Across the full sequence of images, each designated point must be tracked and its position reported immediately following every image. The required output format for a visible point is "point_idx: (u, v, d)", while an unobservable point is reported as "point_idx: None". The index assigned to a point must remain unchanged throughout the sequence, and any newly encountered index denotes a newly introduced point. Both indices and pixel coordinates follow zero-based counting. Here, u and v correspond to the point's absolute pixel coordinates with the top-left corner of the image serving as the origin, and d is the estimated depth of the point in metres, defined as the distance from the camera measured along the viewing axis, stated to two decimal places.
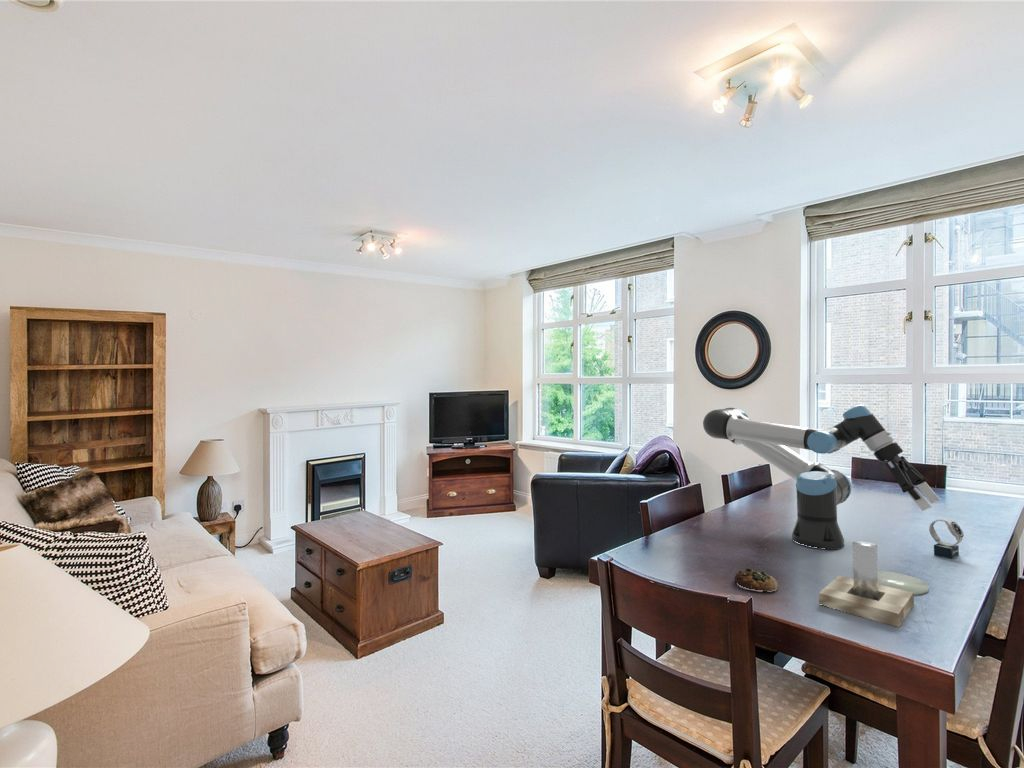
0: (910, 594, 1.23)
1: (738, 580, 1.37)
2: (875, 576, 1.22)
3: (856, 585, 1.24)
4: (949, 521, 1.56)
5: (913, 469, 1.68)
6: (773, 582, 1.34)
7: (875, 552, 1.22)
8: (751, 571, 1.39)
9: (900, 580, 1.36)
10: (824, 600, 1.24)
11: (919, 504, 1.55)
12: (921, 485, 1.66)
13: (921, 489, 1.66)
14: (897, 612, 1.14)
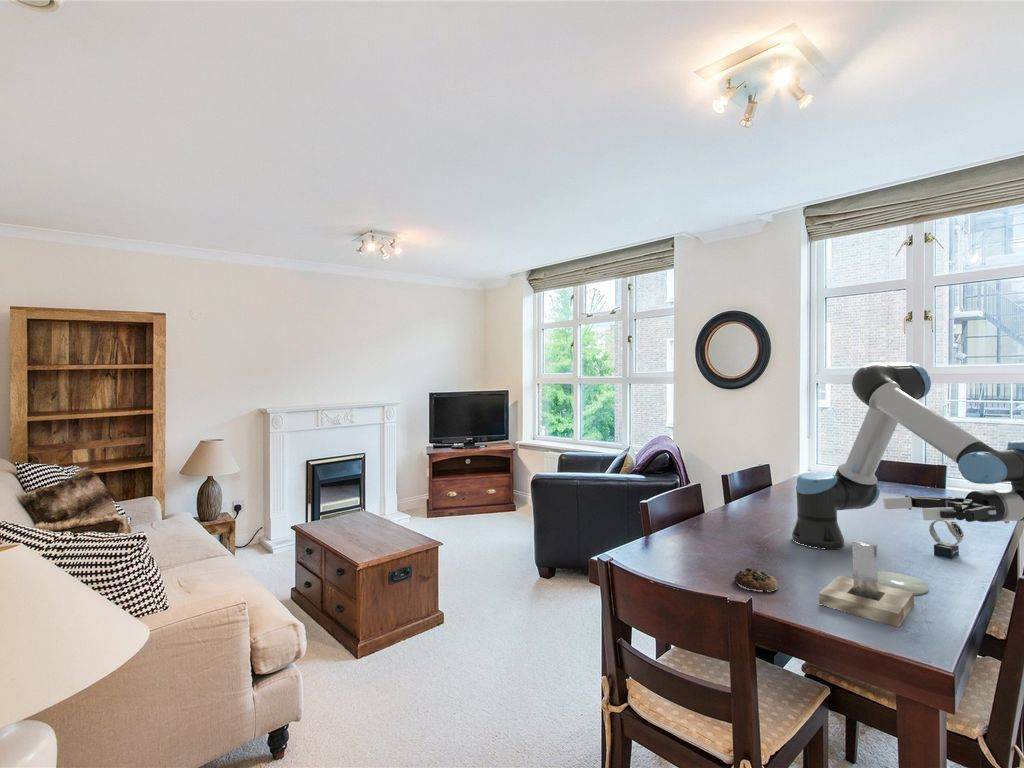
0: (910, 594, 1.23)
1: (738, 580, 1.38)
2: (875, 576, 1.22)
3: (856, 585, 1.24)
4: (949, 521, 1.56)
5: None
6: (773, 582, 1.35)
7: (875, 552, 1.22)
8: (751, 571, 1.39)
9: (900, 580, 1.36)
10: (824, 600, 1.24)
11: (933, 510, 1.18)
12: (909, 502, 1.31)
13: (904, 499, 1.31)
14: (897, 612, 1.14)
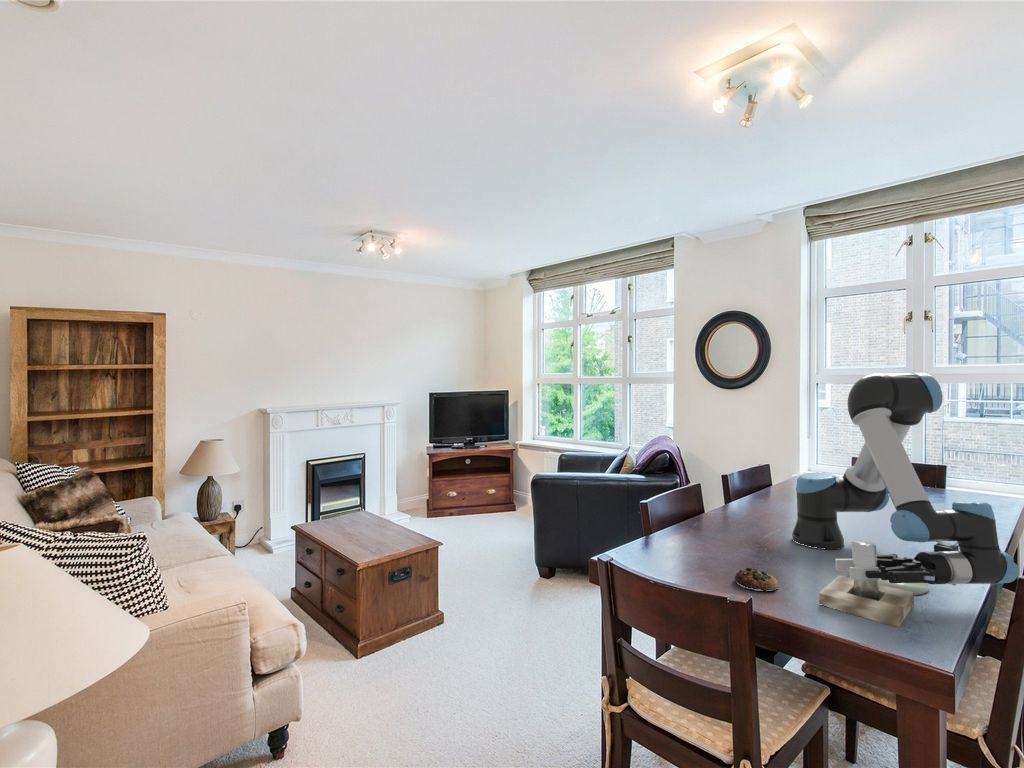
0: (910, 594, 1.23)
1: (739, 580, 1.38)
2: None
3: (856, 585, 1.24)
4: None
5: None
6: (773, 581, 1.35)
7: (874, 551, 1.22)
8: (751, 570, 1.40)
9: None
10: (824, 600, 1.24)
11: (859, 570, 1.21)
12: None
13: None
14: (897, 612, 1.14)
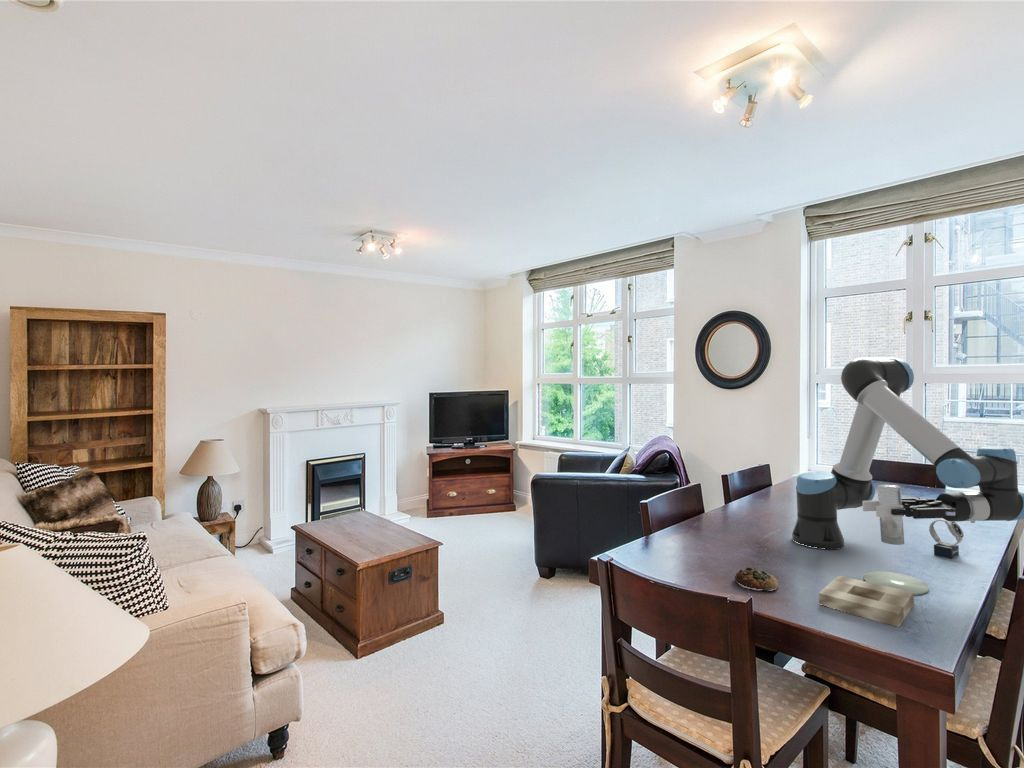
0: (910, 594, 1.23)
1: (739, 579, 1.38)
2: None
3: (882, 523, 1.36)
4: (949, 521, 1.56)
5: None
6: (773, 581, 1.35)
7: (899, 492, 1.34)
8: (751, 570, 1.40)
9: (900, 580, 1.36)
10: (824, 600, 1.24)
11: (885, 508, 1.33)
12: None
13: None
14: (897, 612, 1.14)
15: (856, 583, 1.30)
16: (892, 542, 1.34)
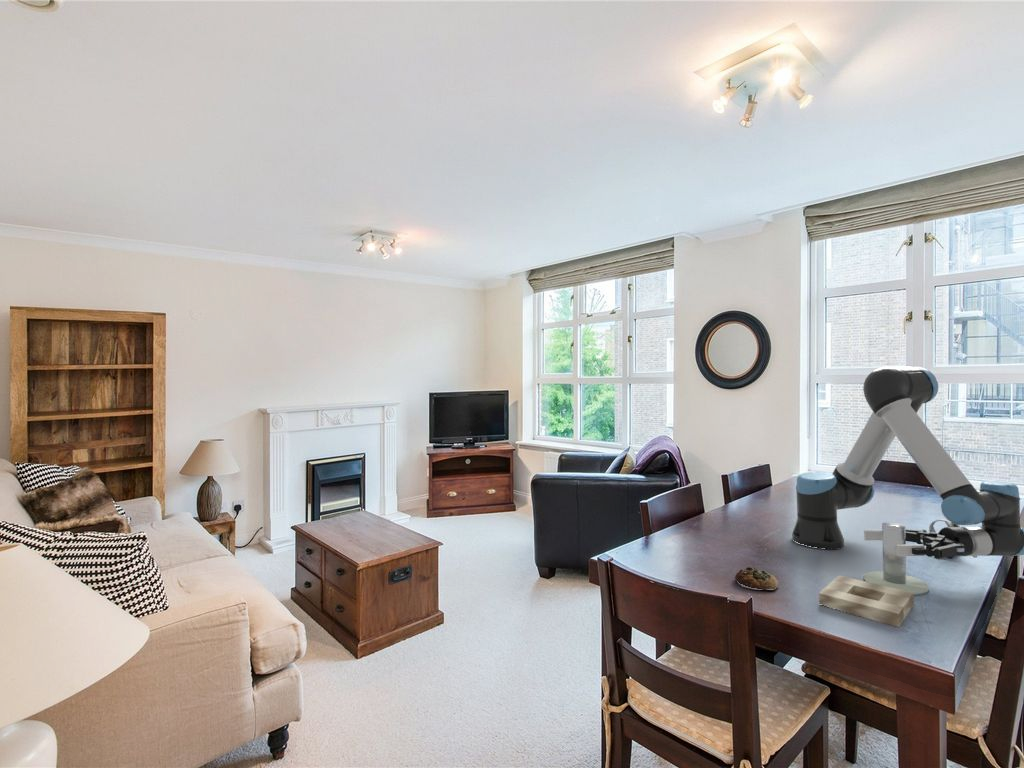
0: (910, 594, 1.23)
1: (739, 579, 1.38)
2: None
3: (885, 562, 1.36)
4: (949, 521, 1.56)
5: None
6: (773, 581, 1.35)
7: (904, 532, 1.34)
8: (752, 570, 1.40)
9: None
10: (824, 600, 1.24)
11: (905, 547, 1.30)
12: None
13: None
14: (897, 612, 1.14)
15: (856, 583, 1.30)
16: (894, 581, 1.35)
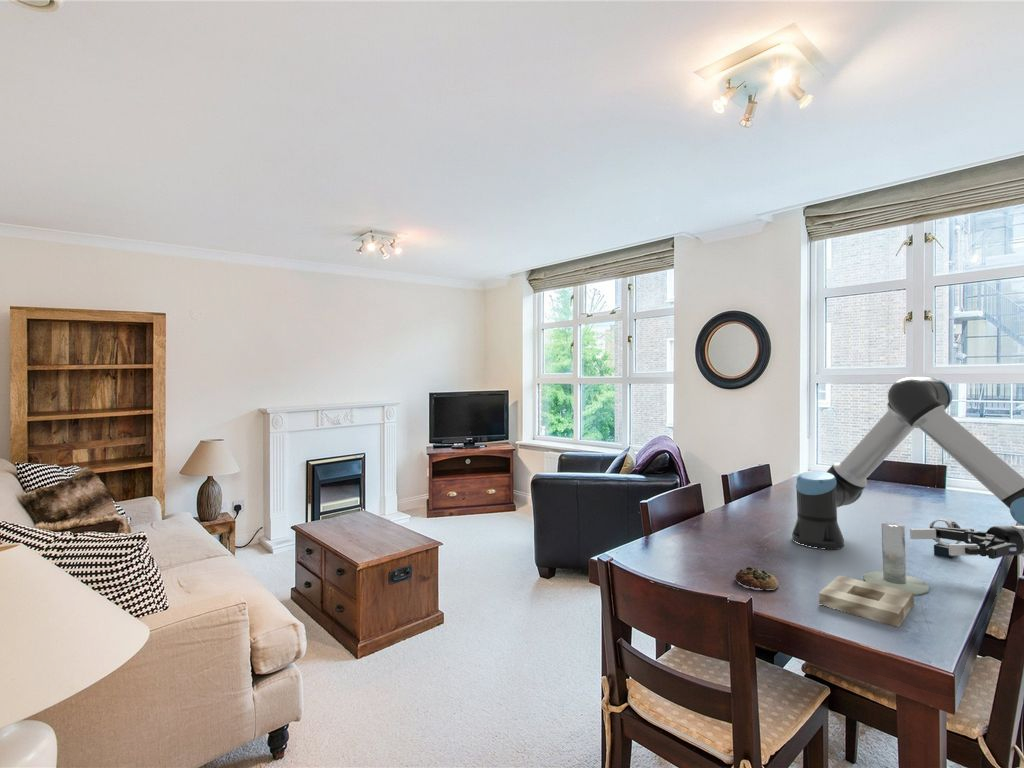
0: (910, 594, 1.23)
1: (739, 579, 1.39)
2: (903, 553, 1.34)
3: (885, 562, 1.36)
4: (949, 521, 1.56)
5: None
6: (774, 581, 1.35)
7: (903, 532, 1.34)
8: (752, 570, 1.40)
9: None
10: (824, 600, 1.24)
11: (958, 547, 1.28)
12: (934, 533, 1.42)
13: (929, 531, 1.42)
14: (897, 612, 1.14)
15: (856, 583, 1.30)
16: (894, 581, 1.35)
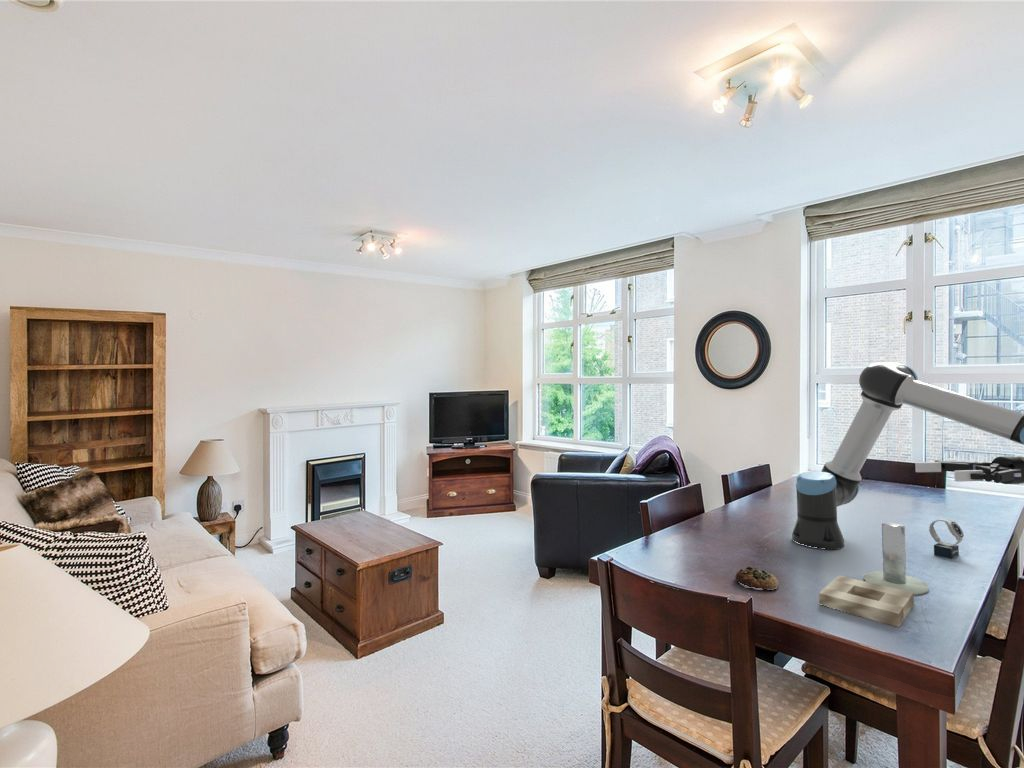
0: (910, 594, 1.23)
1: (739, 579, 1.39)
2: (903, 553, 1.34)
3: (885, 562, 1.36)
4: (949, 521, 1.56)
5: None
6: (774, 580, 1.36)
7: (903, 532, 1.34)
8: (752, 569, 1.40)
9: None
10: (824, 600, 1.24)
11: (964, 473, 1.30)
12: (939, 466, 1.43)
13: (935, 464, 1.43)
14: (897, 612, 1.14)
15: (856, 583, 1.30)
16: (894, 581, 1.35)
